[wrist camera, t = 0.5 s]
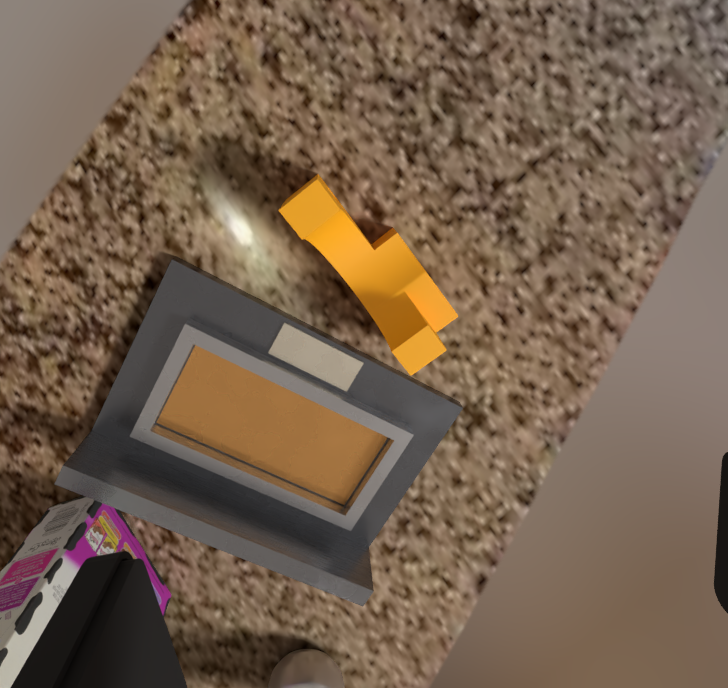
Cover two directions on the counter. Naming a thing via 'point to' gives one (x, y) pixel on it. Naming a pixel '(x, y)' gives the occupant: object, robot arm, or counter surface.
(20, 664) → the candy bar box
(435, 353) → the orange notched block
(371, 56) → the counter surface
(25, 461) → the counter surface
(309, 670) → the plastic bottle
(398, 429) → the grey tray with recess
